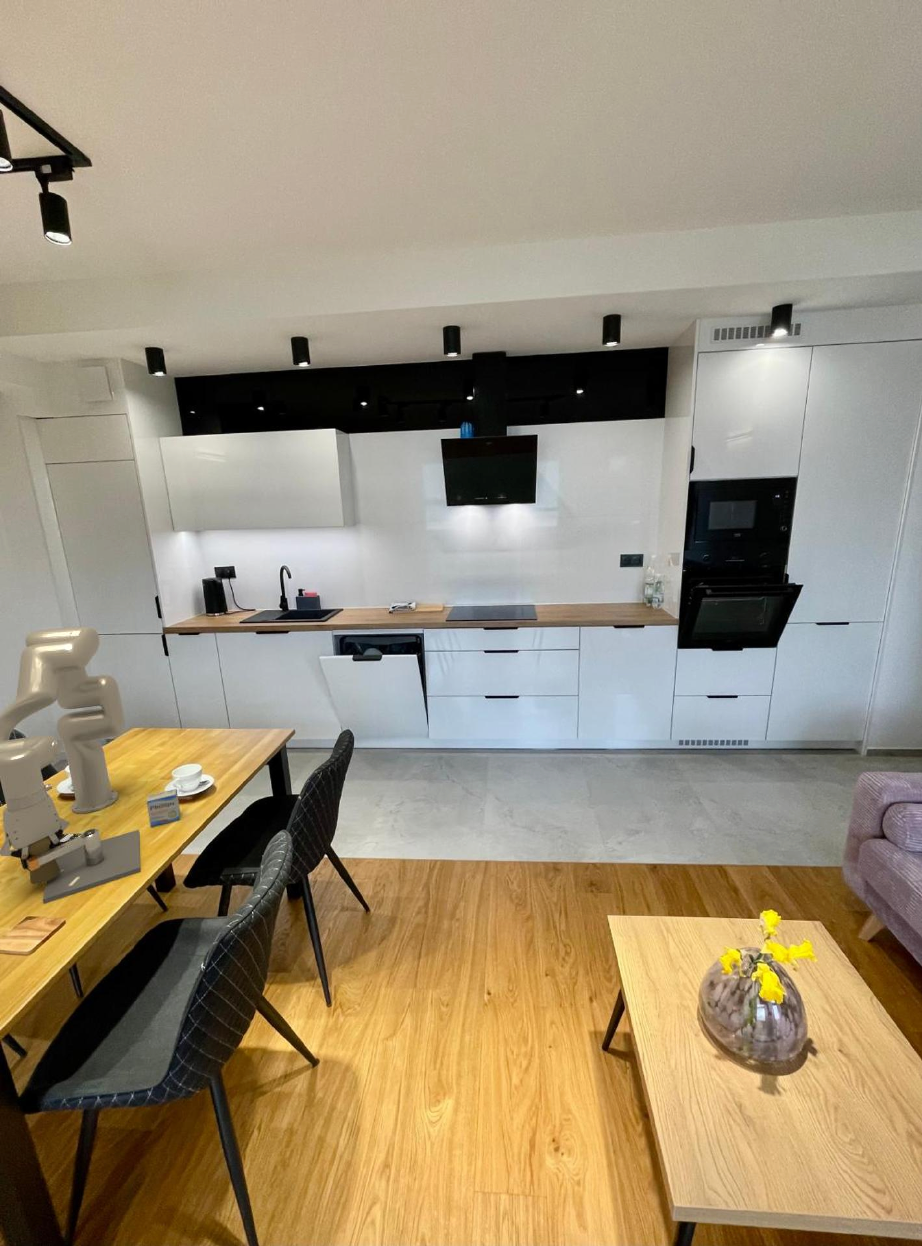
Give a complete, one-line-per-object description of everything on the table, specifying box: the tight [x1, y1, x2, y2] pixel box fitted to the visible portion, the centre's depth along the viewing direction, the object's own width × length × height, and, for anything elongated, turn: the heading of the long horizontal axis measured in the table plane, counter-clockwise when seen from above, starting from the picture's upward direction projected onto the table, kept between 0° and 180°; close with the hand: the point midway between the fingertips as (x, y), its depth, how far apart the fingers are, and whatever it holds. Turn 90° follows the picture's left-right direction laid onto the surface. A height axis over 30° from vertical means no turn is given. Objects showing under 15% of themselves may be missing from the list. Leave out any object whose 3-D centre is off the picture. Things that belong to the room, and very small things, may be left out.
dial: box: [26, 828, 104, 872], centre depth 132 cm, size 15×4×8 cm, turn 146°
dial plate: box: [42, 829, 141, 905], centre depth 137 cm, size 20×20×2 cm
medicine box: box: [146, 788, 181, 828], centre depth 156 cm, size 8×4×9 cm, turn 117°
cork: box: [28, 836, 60, 885], centre depth 129 cm, size 6×6×11 cm
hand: (41, 862), depth 129 cm, fingers closed on cork, 4 cm apart
